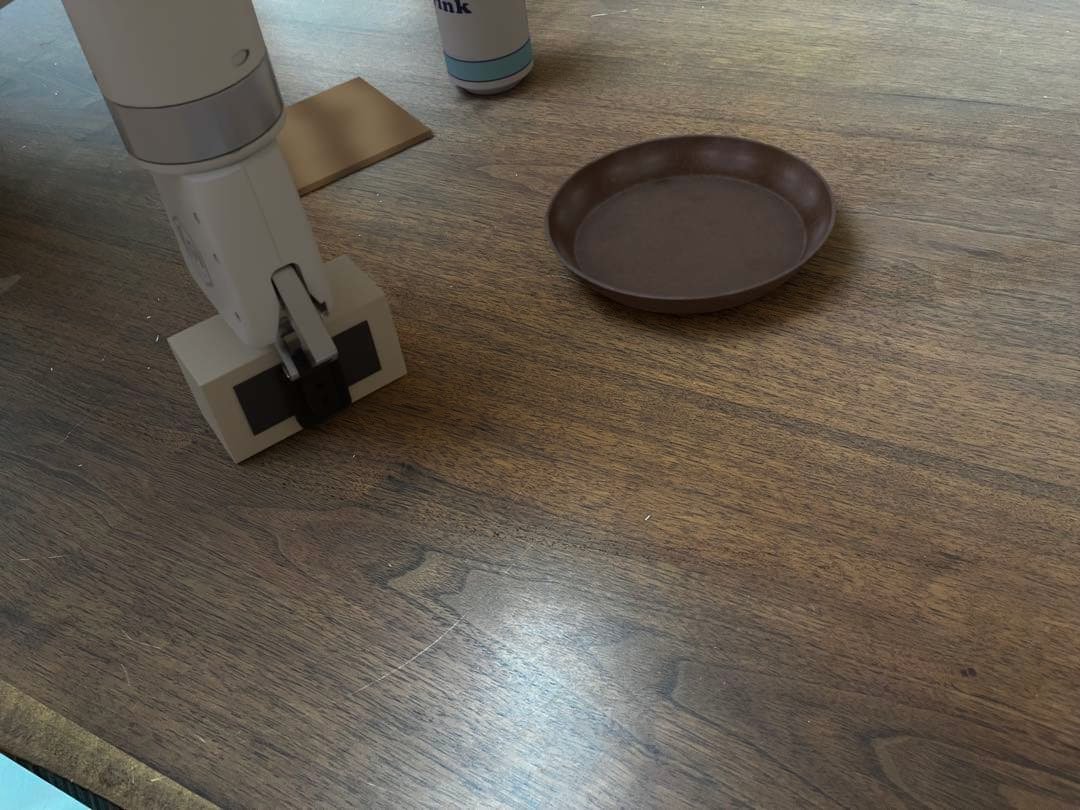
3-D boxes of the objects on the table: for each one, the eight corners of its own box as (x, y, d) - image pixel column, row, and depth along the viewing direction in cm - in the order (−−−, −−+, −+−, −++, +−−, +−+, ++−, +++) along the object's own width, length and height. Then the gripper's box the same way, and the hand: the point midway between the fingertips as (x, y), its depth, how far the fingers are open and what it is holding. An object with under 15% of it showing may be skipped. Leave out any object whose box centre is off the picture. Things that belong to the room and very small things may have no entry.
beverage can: (433, 83, 88) (402, -65, 80) (499, 50, 91) (475, -97, 83) (485, 110, 84) (458, -44, 76) (552, 74, 87) (533, -78, 79)
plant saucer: (605, 156, 77) (602, 118, 75) (858, 185, 71) (862, 144, 69) (506, 312, 66) (498, 272, 64) (795, 362, 60) (797, 320, 58)
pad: (291, 200, 78) (289, 193, 78) (228, 138, 86) (226, 131, 86) (432, 136, 82) (431, 129, 82) (360, 82, 90) (359, 76, 90)
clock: (237, 466, 60) (200, 388, 55) (203, 415, 63) (166, 338, 59) (409, 375, 63) (387, 295, 59) (368, 331, 67) (344, 252, 62)
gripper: (65, 69, 54) (190, 342, 67) (187, 215, 43) (308, 507, 56) (204, 17, 57) (299, 289, 69) (353, 142, 46) (433, 438, 58)
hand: (302, 384), depth 62 cm, fingers closed on clock, 5 cm apart
